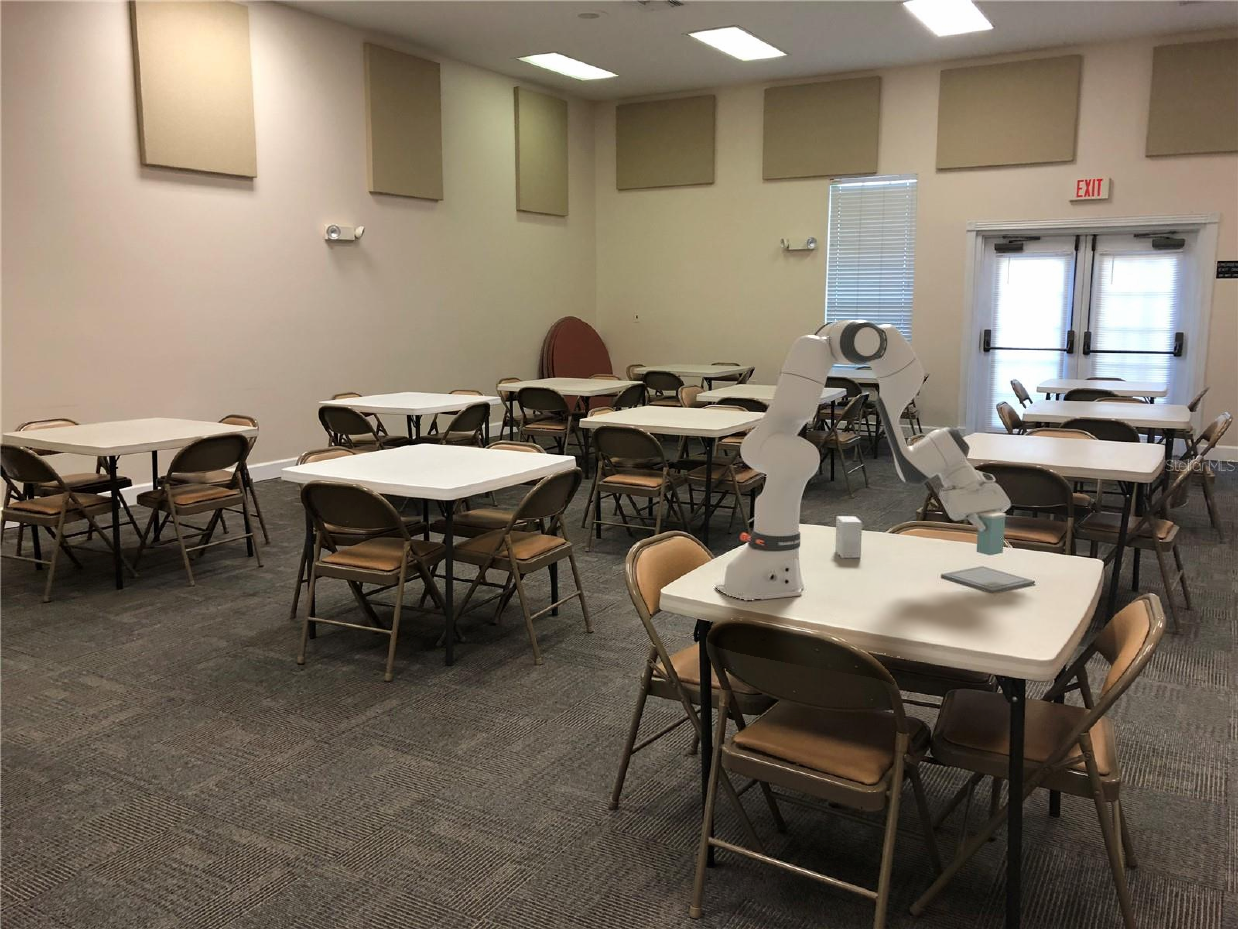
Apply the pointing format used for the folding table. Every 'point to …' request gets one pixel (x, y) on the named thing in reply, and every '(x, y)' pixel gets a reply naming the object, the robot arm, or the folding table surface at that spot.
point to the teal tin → (991, 533)
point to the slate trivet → (987, 579)
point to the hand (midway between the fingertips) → (993, 528)
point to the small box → (848, 536)
